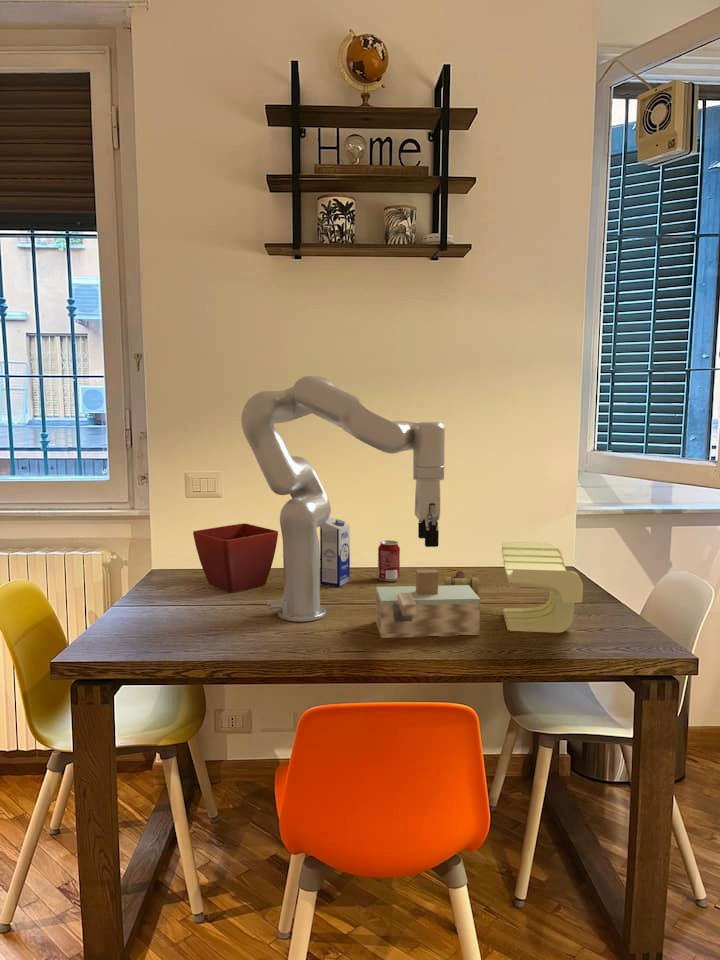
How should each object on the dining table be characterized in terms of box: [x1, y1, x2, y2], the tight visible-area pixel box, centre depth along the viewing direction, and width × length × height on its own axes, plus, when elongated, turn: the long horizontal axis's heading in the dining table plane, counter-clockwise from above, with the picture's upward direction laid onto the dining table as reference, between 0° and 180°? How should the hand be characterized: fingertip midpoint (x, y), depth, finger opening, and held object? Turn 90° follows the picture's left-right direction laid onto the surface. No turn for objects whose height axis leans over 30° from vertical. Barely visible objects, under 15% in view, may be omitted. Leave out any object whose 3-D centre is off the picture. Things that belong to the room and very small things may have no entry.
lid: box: [375, 568, 481, 606], centre depth 175 cm, size 24×12×7 cm, turn 94°
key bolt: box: [398, 593, 416, 616], centre depth 161 cm, size 3×9×2 cm, turn 4°
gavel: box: [443, 570, 480, 594], centre depth 218 cm, size 21×5×10 cm
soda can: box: [377, 539, 401, 582], centre depth 221 cm, size 7×7×12 cm
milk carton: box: [319, 516, 351, 588], centre depth 217 cm, size 7×7×20 cm
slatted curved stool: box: [501, 541, 584, 634], centre depth 180 cm, size 30×16×18 cm, turn 174°
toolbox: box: [375, 591, 481, 639], centre depth 175 cm, size 24×15×9 cm, turn 94°
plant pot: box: [192, 523, 279, 593], centre depth 214 cm, size 19×19×17 cm
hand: (428, 542), depth 174 cm, fingers open, 9 cm apart
